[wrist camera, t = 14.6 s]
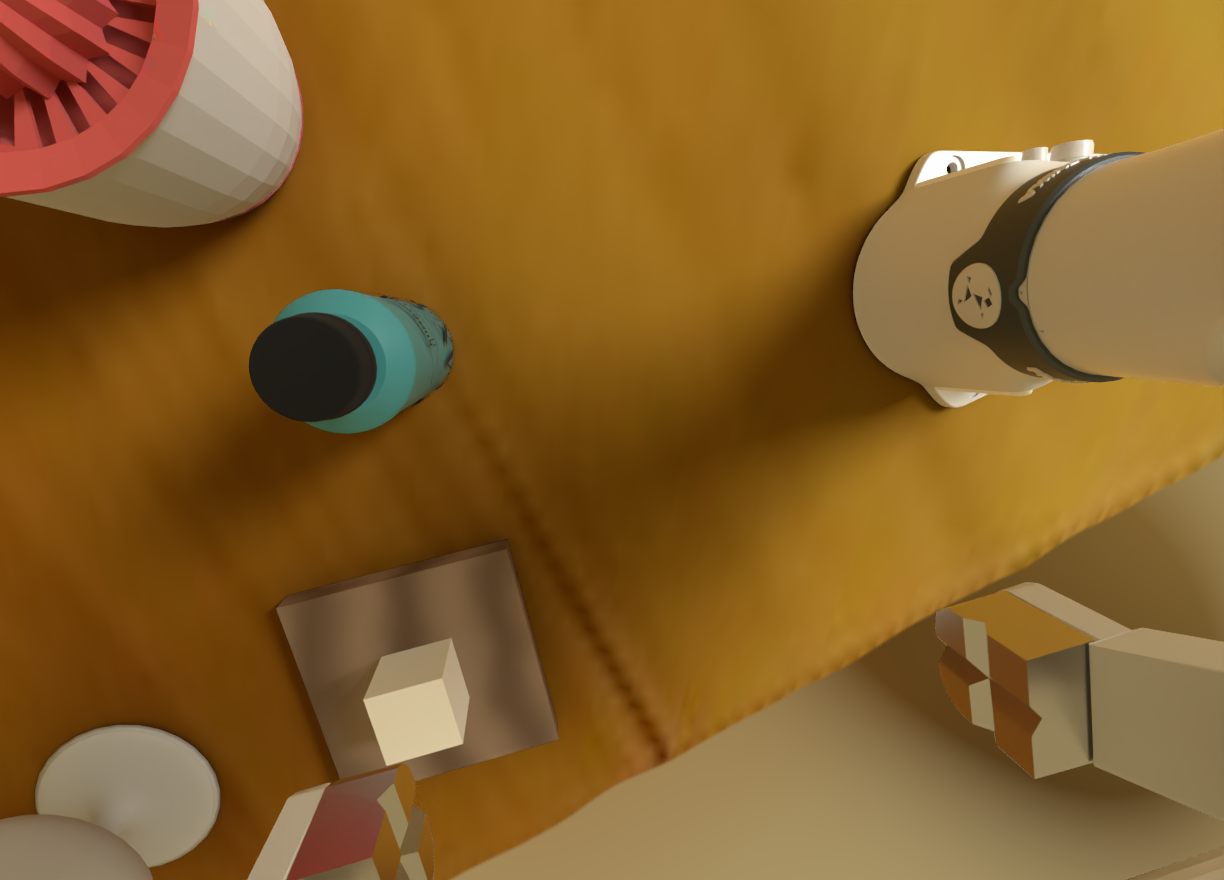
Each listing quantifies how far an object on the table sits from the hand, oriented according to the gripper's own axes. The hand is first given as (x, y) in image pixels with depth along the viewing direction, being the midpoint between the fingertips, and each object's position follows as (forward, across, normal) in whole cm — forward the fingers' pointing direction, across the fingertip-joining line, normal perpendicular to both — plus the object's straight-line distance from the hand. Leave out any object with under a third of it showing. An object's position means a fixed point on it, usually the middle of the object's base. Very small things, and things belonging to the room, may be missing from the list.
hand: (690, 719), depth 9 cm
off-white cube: (+33, +14, +17) cm, 40 cm away
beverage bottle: (+35, +9, -6) cm, 37 cm away
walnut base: (+35, +14, +17) cm, 41 cm away
